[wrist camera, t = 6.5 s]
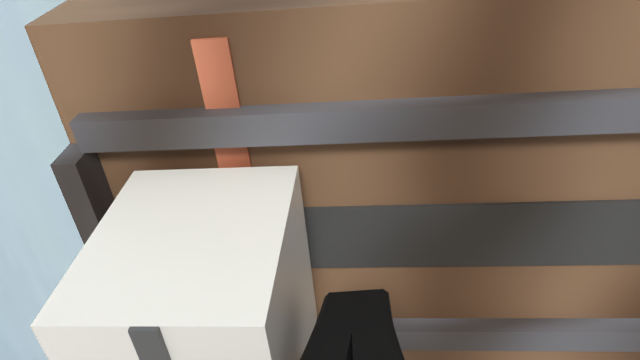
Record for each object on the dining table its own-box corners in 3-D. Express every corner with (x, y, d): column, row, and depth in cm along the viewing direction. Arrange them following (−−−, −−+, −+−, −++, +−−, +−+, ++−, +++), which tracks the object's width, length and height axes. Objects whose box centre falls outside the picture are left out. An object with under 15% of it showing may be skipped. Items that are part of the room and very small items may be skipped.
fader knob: (298, 165, 13) (263, 331, 9) (317, 314, 15) (297, 493, 11) (133, 170, 13) (26, 330, 9) (181, 314, 16) (115, 487, 12)
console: (989, -65, 11) (1170, -31, 9) (770, 332, 18) (836, 416, 15) (67, -1, 13) (-3, 42, 11) (179, 330, 20) (152, 404, 17)
